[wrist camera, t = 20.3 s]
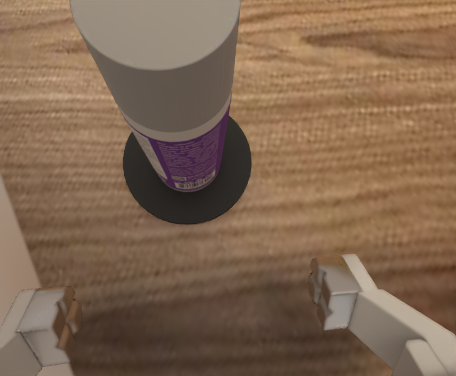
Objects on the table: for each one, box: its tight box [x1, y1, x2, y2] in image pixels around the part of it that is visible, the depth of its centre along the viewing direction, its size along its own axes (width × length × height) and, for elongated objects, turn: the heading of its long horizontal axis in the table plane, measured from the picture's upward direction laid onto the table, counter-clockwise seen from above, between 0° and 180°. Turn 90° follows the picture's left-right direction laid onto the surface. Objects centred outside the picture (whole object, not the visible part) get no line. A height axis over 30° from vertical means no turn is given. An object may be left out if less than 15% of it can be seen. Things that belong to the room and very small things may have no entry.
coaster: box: [123, 115, 251, 224], centre depth 23 cm, size 9×9×1 cm
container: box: [70, 0, 241, 192], centre depth 16 cm, size 5×5×15 cm
